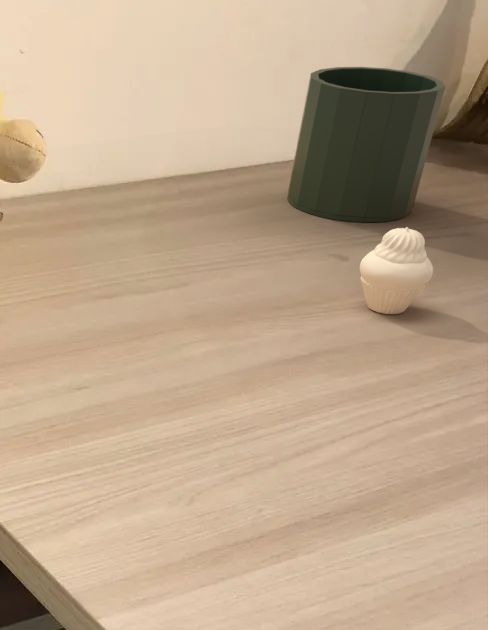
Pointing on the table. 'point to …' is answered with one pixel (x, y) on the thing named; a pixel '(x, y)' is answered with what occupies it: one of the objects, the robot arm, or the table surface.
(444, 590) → the table surface
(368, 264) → the muffin
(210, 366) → the table surface
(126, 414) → the table surface
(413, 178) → the tin
